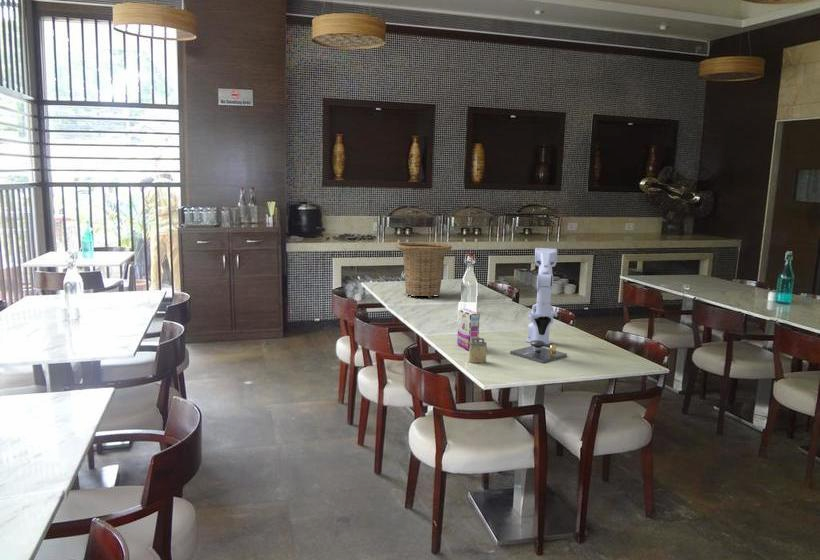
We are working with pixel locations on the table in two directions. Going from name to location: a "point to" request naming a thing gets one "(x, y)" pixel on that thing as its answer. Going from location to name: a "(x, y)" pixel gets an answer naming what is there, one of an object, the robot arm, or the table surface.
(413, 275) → the wicker basket
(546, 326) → the robot arm
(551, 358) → the lever base
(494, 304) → the table surface
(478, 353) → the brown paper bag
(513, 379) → the table surface
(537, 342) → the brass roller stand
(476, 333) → the candy bar box
